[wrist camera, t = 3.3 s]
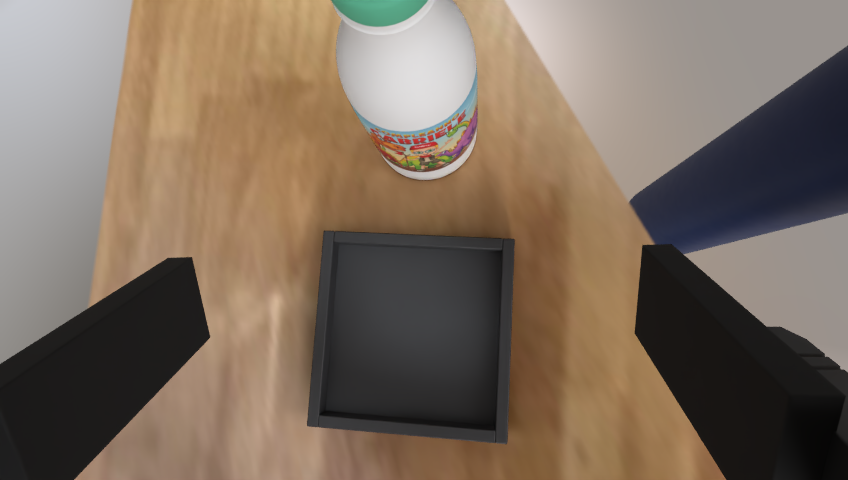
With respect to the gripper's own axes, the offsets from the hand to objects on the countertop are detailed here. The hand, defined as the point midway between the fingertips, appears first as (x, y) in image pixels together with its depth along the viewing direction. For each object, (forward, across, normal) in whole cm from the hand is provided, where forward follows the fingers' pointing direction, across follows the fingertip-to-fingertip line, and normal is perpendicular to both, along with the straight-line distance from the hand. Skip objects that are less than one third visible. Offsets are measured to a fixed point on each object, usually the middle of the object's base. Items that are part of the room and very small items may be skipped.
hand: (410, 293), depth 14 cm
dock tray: (+19, -3, -12) cm, 22 cm away
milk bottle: (+26, -1, +2) cm, 26 cm away
